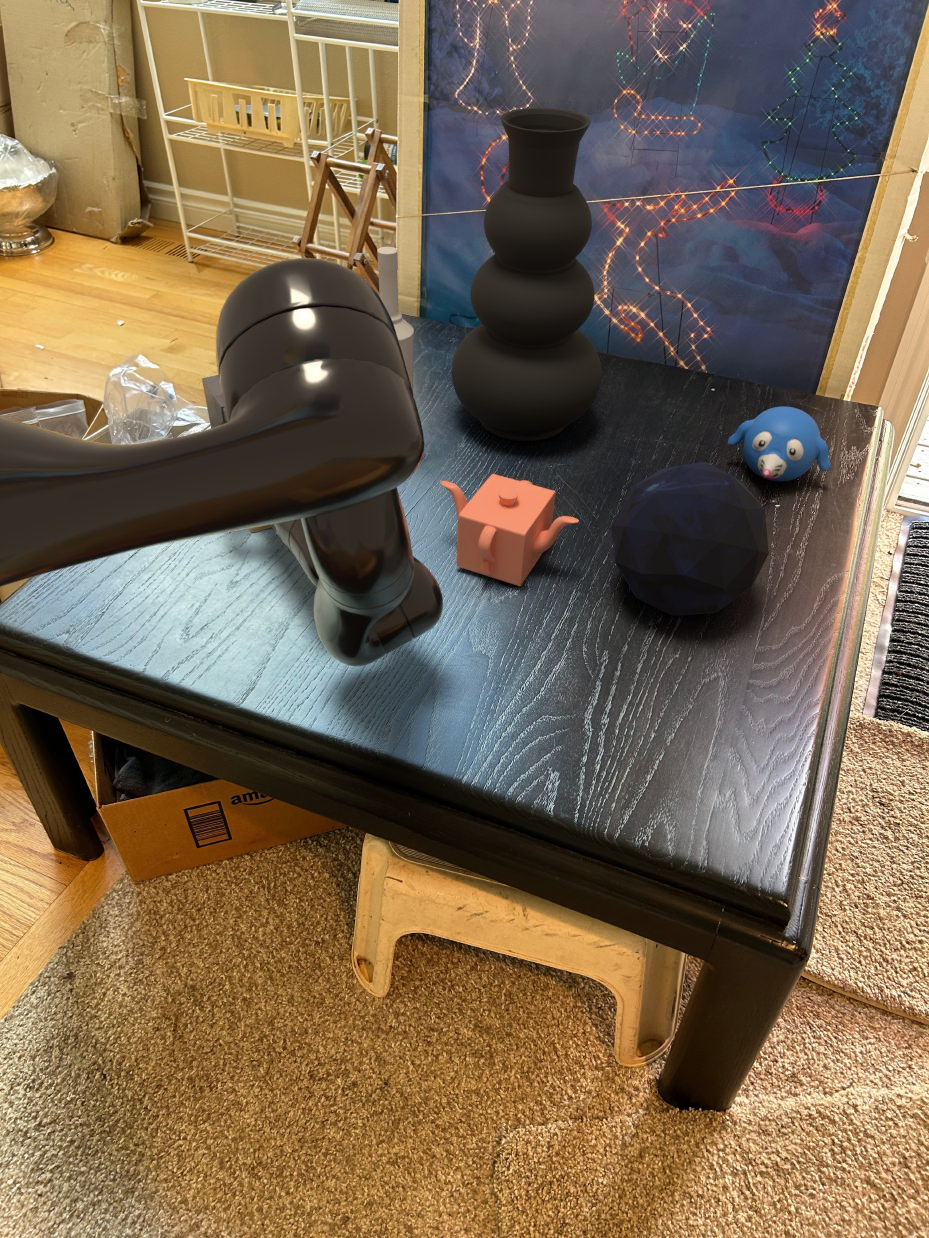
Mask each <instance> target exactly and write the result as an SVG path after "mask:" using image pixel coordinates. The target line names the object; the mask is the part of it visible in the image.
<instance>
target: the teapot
mask: <svg viewBox="0 0 929 1238" xmlns="http://www.w3.org/2000/svg"><path fill="white" fill-rule="evenodd" d="M440 485H441V486H442V487H443V488H445V489H446V490H447V491H448V492H449V493H450V495H451V497H452V499H453V502H454V507H455V512H456V517H457V529H456V531H457V533H456V534H457V536H456V537H457V538H456V567H458V568H461V569H465V570H467V571H470V572H474V573H477V574H480V575H484V576H486V577H490V578H493V579H495V580H498V581H503V582H504V583H505V582H506V583H509V584H511V585H515V586H518V587H521V586H522V585H523V583H524V581H525V580H526V579H527V577H528V575H529V574H530V572H531V571H532V570H533V568H534V567H535V565H536V563H537V562H538V561H539V560H540V558H541V556H542V555H543V553H544V552H546V551H548V549H550V548H551V547H552V546H553V545H554V543H555V542H556V540H557V538H558V536H559V534H560V533H561V531H562V530H563V528H564V527H566V526H568V525H572V524H577V523H579V522H580V520H579V519H578V518H576V517H573V516H569V515H562V516H558V517H557V518H555V519H554V512H555V501H556V495H557V492H556V490H553V489H549V488H545V487H542V486H538V485H534V484H533V483H532V482H531V481H529V480H527V479H522V480H518V479H514V478H510V477H507V476H503V475H499V474H495V473H492V474H490V476H489V477H488V478H487V479H486V480H485V482H484V483H483V484H482V485H481V487H480V488H478V490H477V491H476V492H475V494H474V495H473V496H472V497H471V498H470V500H469V501H468V499H467V498H466V496H465V493H464V491H463V490H462V489H461V488H460V487H459V486H458V485H457V484H455V483H454V482H451V481H448V480H441V481H440ZM553 519H554V520H553Z"/></svg>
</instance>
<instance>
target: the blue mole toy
mask: <svg viewBox="0 0 929 1238" xmlns="http://www.w3.org/2000/svg"><path fill="white" fill-rule="evenodd" d="M742 441H744V442H743V447H742V449H743V457H744V460H745V462H746V464H747V466H748V468H749V469H750V470H751V471H752V472H753V473H755V474H756V475H757V476H758V477H761V478H763V479H764V480H768V481H770V482H771V481H772V482H789V481H792V480H795V479H798V478H800V477H801V476H803V475H804V474H806V472H808V471H809V470H810V469H811V468H812V467H813V465H814V464H815V462H817V466H818V468H819V469H820V470H821V471H822V472H828V471H829V470H830V469H831V466H832V464H831V461H830V458H829V446H828V444H827V442H826V440H824V439H823V438H822V437H821V432H820V429H819V427H818V424H817V422H816V421H815V419H814V418H813V417H812V416H811V415H810V414H808V413H807V412H806V411H804V410H802V409H799V408H798V407H797V408H796V407H792V406H775V407H771V408H768V409H766V410H764V411H762V412H761V413H760V414H758V415H757V416H756V417H755V418H753V419H750V420H749V419H748V420H745V421H744V422H742V423H741V424H740V425H738V428H737V429H736V431H735V432H734V433H733V434H732V435H730V436H729V437H728V441H727V445H729V446H730V447H735V446H737V445H739V444H740V443H741V442H742Z"/></svg>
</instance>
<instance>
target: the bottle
mask: <svg viewBox="0 0 929 1238" xmlns="http://www.w3.org/2000/svg"><path fill="white" fill-rule="evenodd" d="M376 253H377V270H378V290H379V293H378V294H379V297H380V298H381V300H382V302H383V304H384V305H385V307H386V309H387V311H388V313H389V315H390V317H391V319H392V322H393V324H394V327H395V331H396V334H397V338H398V341H399V345H400V347H401V351H402V354H403V358H404V361H405V365H406V369H407V372H408V376H409V380H410V383H411V387H412V391H413V392H414V356H415V355H414V348H415V347H414V346H415V345H414V344H415V343H414V342H415V341H414V340H415V338H414V336H415V335H414V330H415V329H414V327H413V326H412V325H411V324H410V323H409V322H407V321H406V320H405V319H404V318H403V314H402V313H401V312H400V311H399V284H398V281H399V280H398V279H399V277H398V276H399V275H398V270H399V265H398V263H399V261H398V259H399V258H398V249H397V247H393V246H382V247H379V248H378V249H377V250H376Z"/></svg>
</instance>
